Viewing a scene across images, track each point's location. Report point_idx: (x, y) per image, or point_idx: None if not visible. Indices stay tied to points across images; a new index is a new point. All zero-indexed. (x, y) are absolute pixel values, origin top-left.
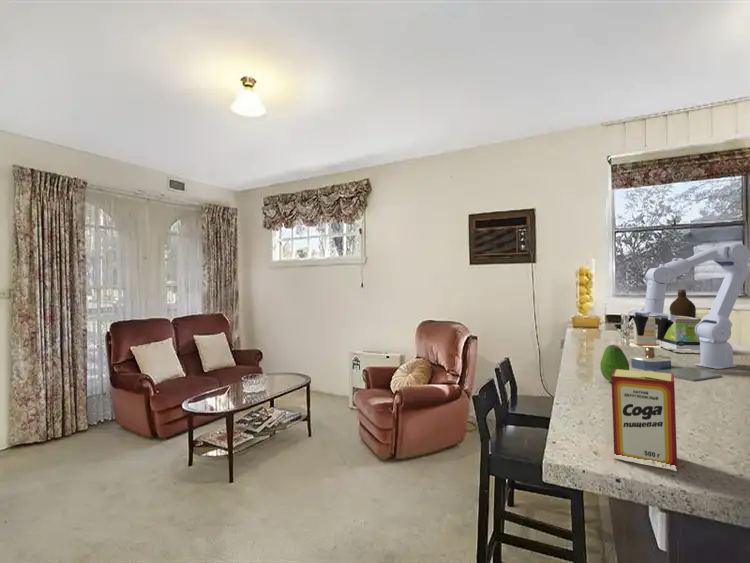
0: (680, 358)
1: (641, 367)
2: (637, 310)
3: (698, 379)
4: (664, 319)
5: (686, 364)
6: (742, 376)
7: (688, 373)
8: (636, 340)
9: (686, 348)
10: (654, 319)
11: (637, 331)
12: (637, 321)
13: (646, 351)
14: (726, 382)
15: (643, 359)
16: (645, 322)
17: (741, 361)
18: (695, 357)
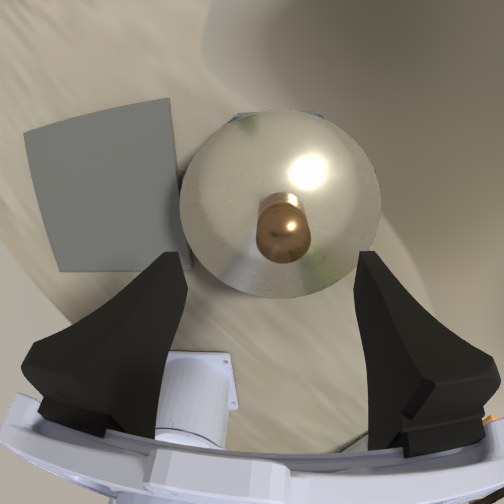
0: (333, 396)
1: (255, 112)
2: (472, 492)
3: (30, 159)
4: (70, 410)
5: (254, 346)
6: (67, 317)
7: (91, 197)
8: None
9: (362, 450)
10: None
11: (383, 268)
12: (412, 340)
13: (285, 204)
14: (10, 214)
15: (238, 119)
16: (370, 405)
17: (226, 446)
18: (317, 426)
